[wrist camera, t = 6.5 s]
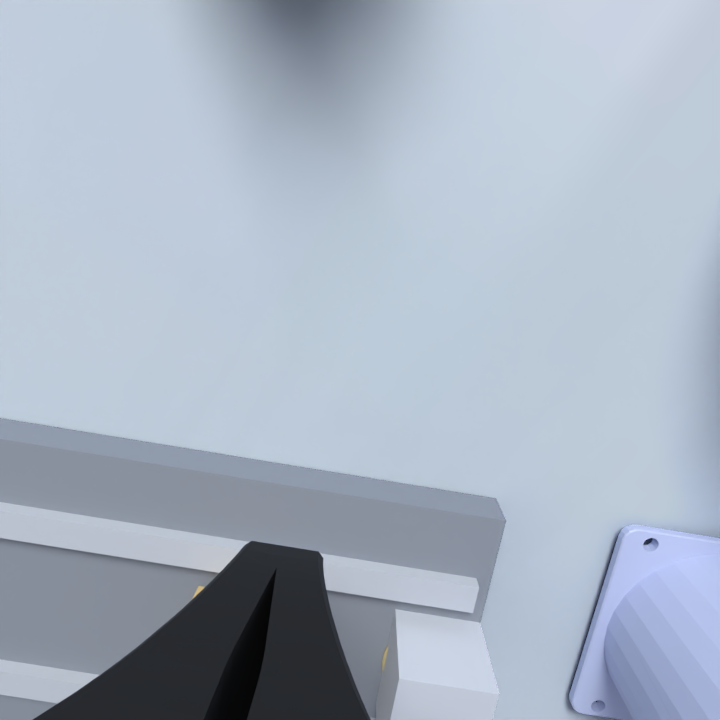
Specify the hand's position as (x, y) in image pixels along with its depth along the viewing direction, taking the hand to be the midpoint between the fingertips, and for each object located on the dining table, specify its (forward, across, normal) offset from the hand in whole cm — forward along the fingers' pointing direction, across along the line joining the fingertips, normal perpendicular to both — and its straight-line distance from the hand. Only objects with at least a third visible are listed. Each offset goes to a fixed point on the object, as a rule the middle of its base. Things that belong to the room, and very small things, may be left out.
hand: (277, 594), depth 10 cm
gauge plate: (+9, +3, +8) cm, 13 cm away
